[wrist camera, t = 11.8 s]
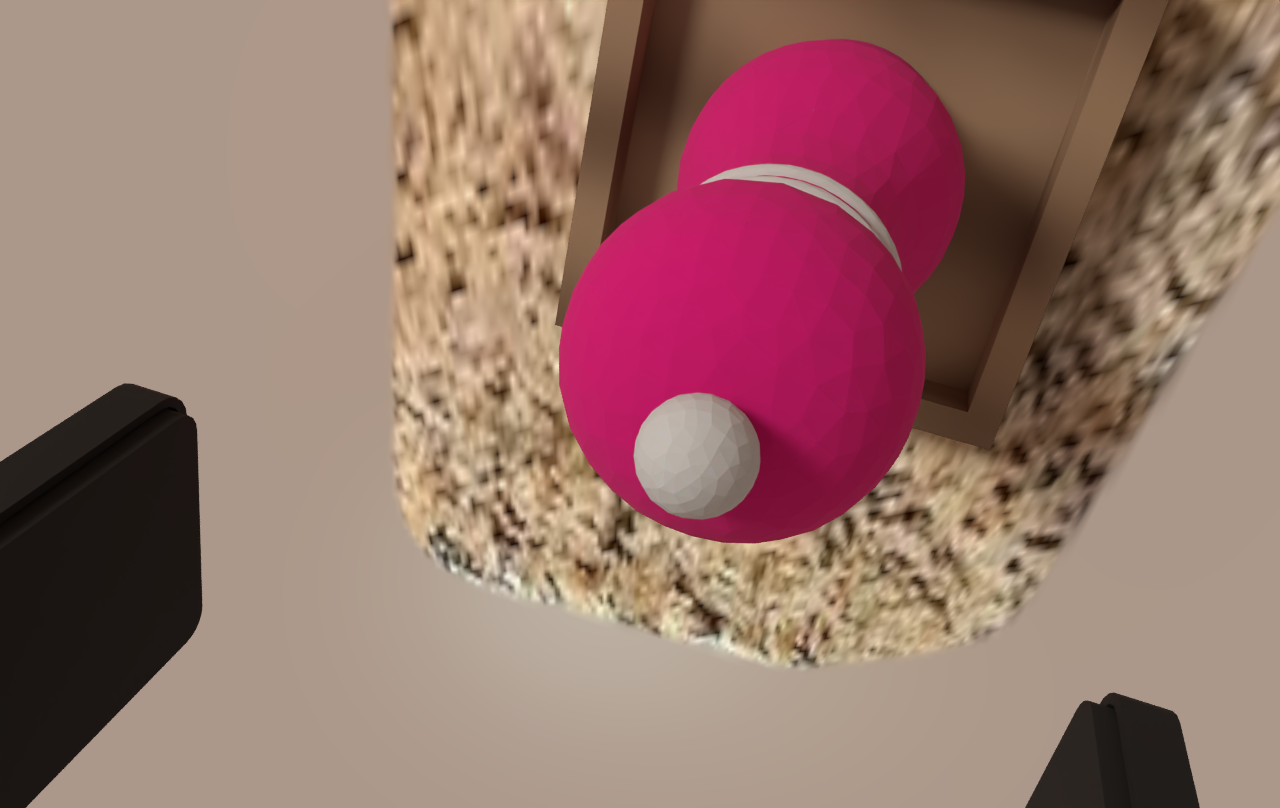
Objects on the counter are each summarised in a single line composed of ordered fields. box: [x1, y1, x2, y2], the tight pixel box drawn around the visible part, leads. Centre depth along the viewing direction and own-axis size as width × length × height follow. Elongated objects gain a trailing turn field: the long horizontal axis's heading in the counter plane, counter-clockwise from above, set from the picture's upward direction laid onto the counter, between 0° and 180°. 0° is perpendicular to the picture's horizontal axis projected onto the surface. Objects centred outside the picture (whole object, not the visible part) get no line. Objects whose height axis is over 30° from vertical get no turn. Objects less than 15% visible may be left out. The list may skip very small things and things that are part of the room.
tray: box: [555, 0, 1169, 450], centre depth 32 cm, size 14×14×2 cm
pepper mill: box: [559, 39, 965, 543], centre depth 23 cm, size 7×7×20 cm
